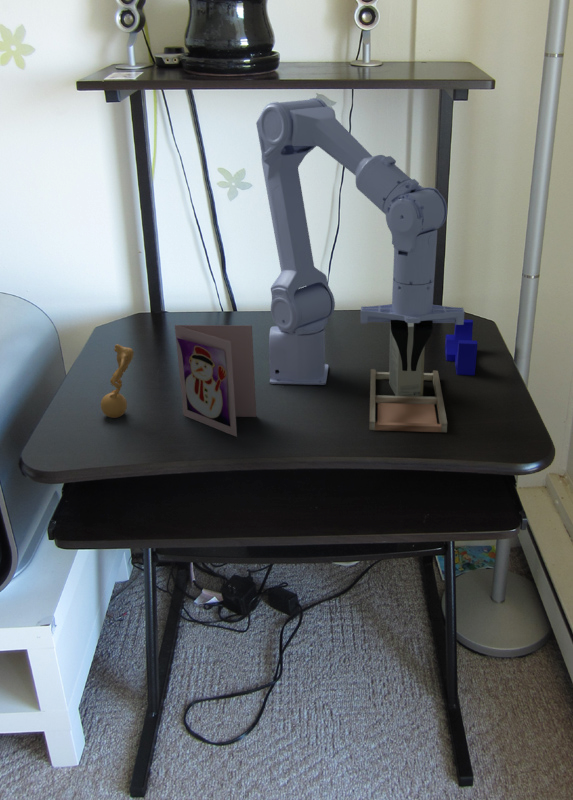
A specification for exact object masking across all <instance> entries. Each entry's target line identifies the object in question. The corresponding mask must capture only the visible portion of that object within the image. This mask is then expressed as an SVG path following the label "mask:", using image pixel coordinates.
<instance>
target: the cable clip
mask: <svg viewBox="0 0 573 800" xmlns="http://www.w3.org/2000/svg"><path fill="white" fill-rule="evenodd" d="M473 328H474V320H473V319H465V318H464V324H463V325H456V324H455V323H454V333H453V334H445V342H444V353H445V360H446V362H454V365H455V372H456V376H475V374H476V373H475V372H476V365H477V354H478V340H473Z"/></svg>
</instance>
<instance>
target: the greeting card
mask: <svg viewBox="0 0 573 800" xmlns="http://www.w3.org/2000/svg"><path fill="white" fill-rule="evenodd" d="M174 330H175V331H174V332H175V340H176V342H175V343H176V351H177V362H178V372H179V381H180V391H181V392H180V394H181V402H182V403H181V404H182V413H183V416H184V417H187V418H189V419H191V420H193V421H197V422H199V423H201V424H204V425H207V426H208V427H211V428H214V429H216V430H219V431H221V432H224V433H226V434H228V435H231V436H233V437H236V438H238V433H237V431H238V430H237V417H239V418H240V417H241V418H242V417H248V418H251V417H252V418H256V417H257V403H256V401H257V400H256V399H257V398H256V382H255V359H254V357H255V356H254V345H253V344H254V343H253V342H254V341H253V340H254V339H253V325H243V324H242V325H238V324H237V325H235V324H234V325H230V324H229V325H224V324H223V325H221V324H220V325H219V324H215V325H211V324H209V325H208V324H205V325H204V324H192V325H191V324H188V325H187V324H174Z"/></svg>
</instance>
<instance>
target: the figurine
mask: <svg viewBox="0 0 573 800" xmlns="http://www.w3.org/2000/svg"><path fill="white" fill-rule="evenodd" d="M113 350H114V352H115V353H116V362H117V365H118V366H117V367H118V368H117V369H116V370H115V372H113V374H112V377H111V378H110V380H109V382H110V384H111V385H110V386H112V387H114V388H115V389H114V390H111V392H109V393H107V394H105V395H104V396H103V397H102V398H101V400H100V409H101V411H102V413H103V414H104V415H105V416H106V417H108V418H111V419H116V418H117V419H118V418H119V417H122V416H123V415H124V414H125V413H126V411H127V410H128V409H127V408H128V402H127V399H126V398H125V396H124V395H123V394H121V393H120V391H121V388H122V386H123V381H122V380H121V379H122V377H123V375H124V373H125V372H126V371H127V370H128V368H129V365H130V363H132V360H133V358H134V356H135V355H134V354H135V352H134V350H133V348H131V347H125V346H123V345H121V344H118V343H117V344H115V345H114V349H113Z"/></svg>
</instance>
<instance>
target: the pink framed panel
mask: <svg viewBox="0 0 573 800" xmlns="http://www.w3.org/2000/svg"><path fill="white" fill-rule="evenodd" d="M376 380H389V371H388V372H387V371H386V372H385V371H376V369H375V368H371V369H370V387H369V388H370V389H369V390H370V391H369V396H370V397H369V426H368V427H369V431H386V432H387V431H389V432H390V431H391V432H392V431H393V432H394V431H395V432H421V433H423V432H424V433H447V432H448V420H447V414H446V409H445V403H444V397H443V392H442V386H441V382H440V381H441V380H440V376H439V371H438V370H432V372H431V373H430V372H424V379H423V381H432V385H433V390H434V396H424V395H423V396H396V395H384V394H383V395H382V394H381V395H379V394H378V395H377V394H376ZM376 404H377V421H376ZM435 405H436V407H435ZM436 411H437V413H436ZM437 414H438V415H437ZM437 416H438V419H437Z"/></svg>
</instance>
